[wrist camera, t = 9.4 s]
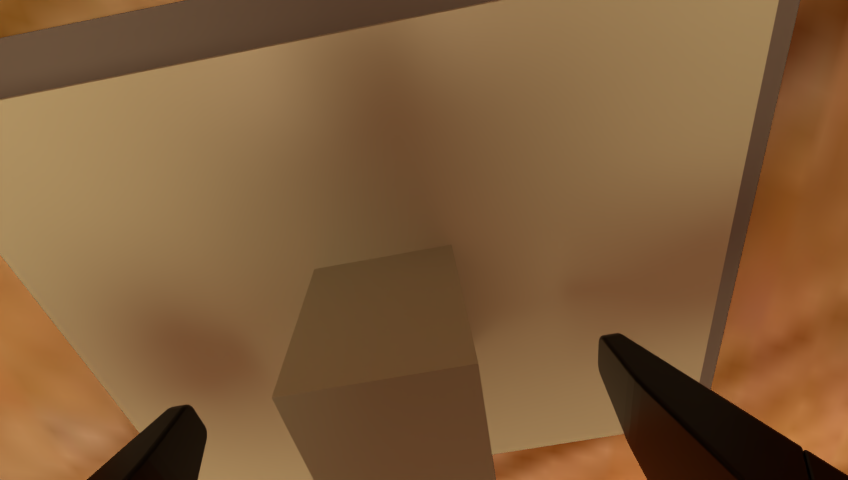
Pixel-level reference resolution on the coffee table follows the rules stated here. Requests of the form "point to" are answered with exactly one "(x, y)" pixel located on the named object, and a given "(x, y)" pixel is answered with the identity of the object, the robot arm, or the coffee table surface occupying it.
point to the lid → (392, 227)
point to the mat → (307, 17)
